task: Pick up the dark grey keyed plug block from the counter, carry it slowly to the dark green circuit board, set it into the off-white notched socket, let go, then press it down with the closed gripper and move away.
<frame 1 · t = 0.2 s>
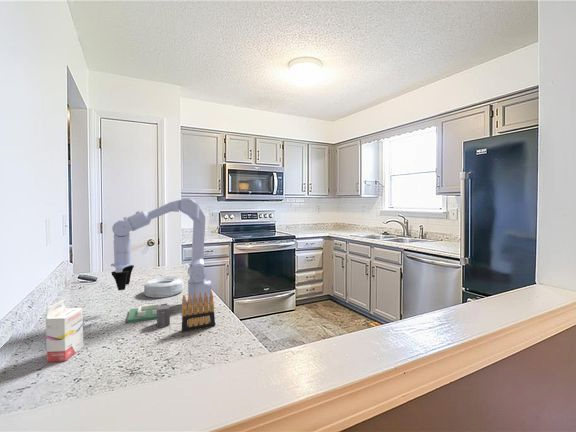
hand: (123, 287, 116), 10 cm above the counter, tool pointing down, fingers open, 7 cm apart
ammunition clip: (198, 328, 102), on the counter
plug: (163, 324, 105), on the counter
cable: (164, 293, 143), on the counter
board: (149, 314, 115), on the counter
ink cartridge box: (66, 354, 85), on the counter
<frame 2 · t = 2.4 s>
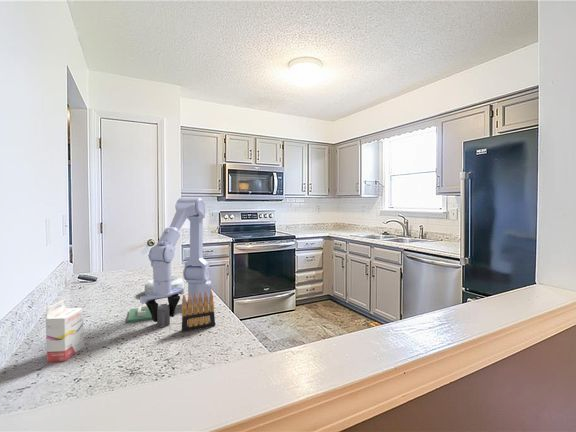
hand: (163, 318, 105), 2 cm above the counter, tool pointing down, fingers closed on plug, 5 cm apart
plug: (163, 324, 105), on the counter, touching gripper
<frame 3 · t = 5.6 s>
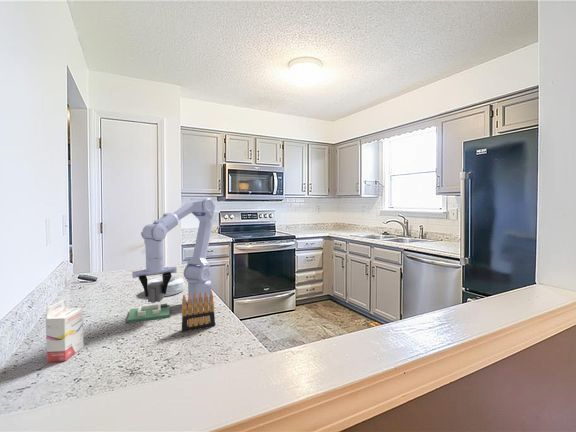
hand: (155, 294, 110), 9 cm above the counter, tool pointing down, fingers closed on plug, 5 cm apart
plug: (155, 300, 110), point 7 cm above the counter, touching gripper
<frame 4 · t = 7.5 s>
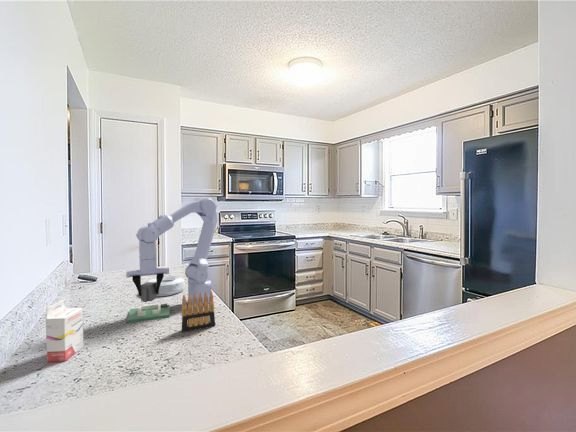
hand: (149, 294, 114), 8 cm above the counter, tool pointing down, fingers closed on plug, 5 cm apart
plug: (149, 299, 114), point 6 cm above the counter, touching gripper
when the fingers open (3 cm above the counter, at t = 8.9 s): plug stays where it is, resting on board.
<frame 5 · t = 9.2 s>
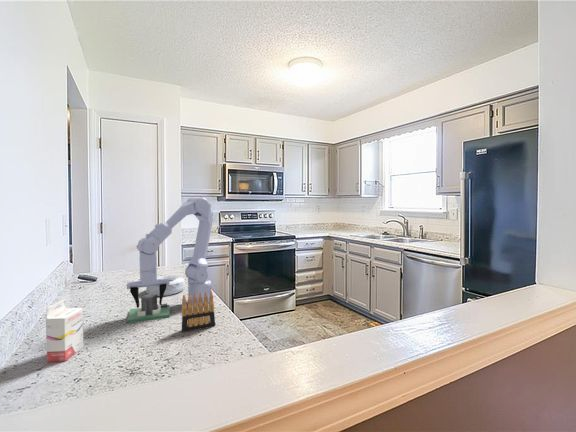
hand: (149, 305, 115), 3 cm above the counter, tool pointing down, fingers open, 7 cm apart
plug: (149, 311, 115), point 1 cm above the counter, touching board
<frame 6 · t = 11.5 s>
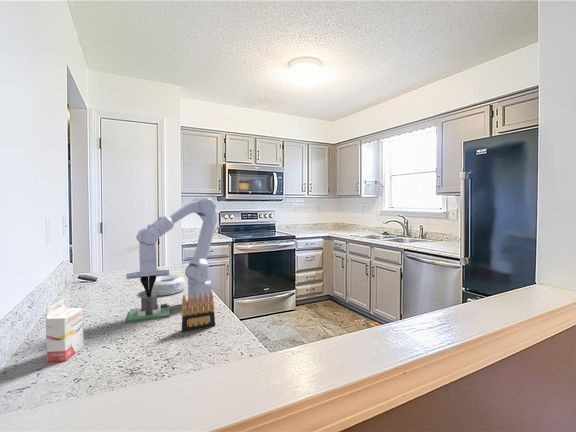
hand: (149, 296, 114), 7 cm above the counter, tool pointing down, fingers closed, pressing on plug
plug: (149, 311, 115), point 1 cm above the counter, touching board, gripper
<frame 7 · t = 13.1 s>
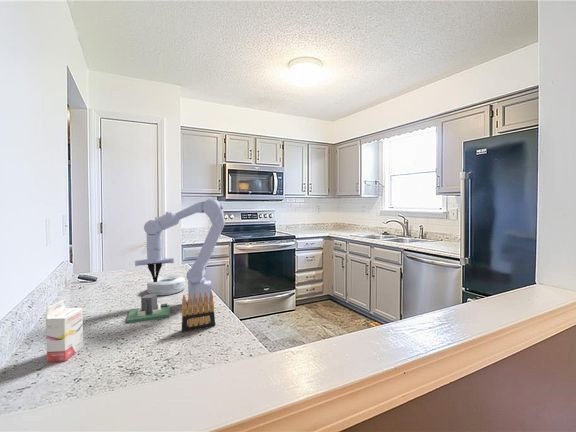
hand: (155, 281, 126), 9 cm above the counter, tool pointing down, fingers closed
plug: (149, 311, 115), point 1 cm above the counter, touching board
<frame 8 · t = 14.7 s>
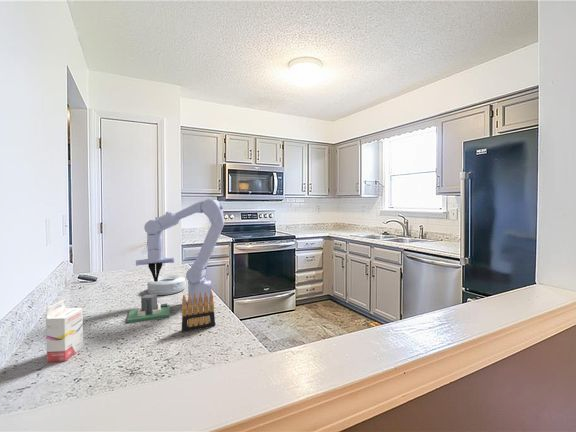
hand: (155, 281, 127), 9 cm above the counter, tool pointing down, fingers closed
at the end: plug 0.0 cm off-centre on the board, point 1.0 cm above the board's base; plug tilted 0°; the gripper is holding nothing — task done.
